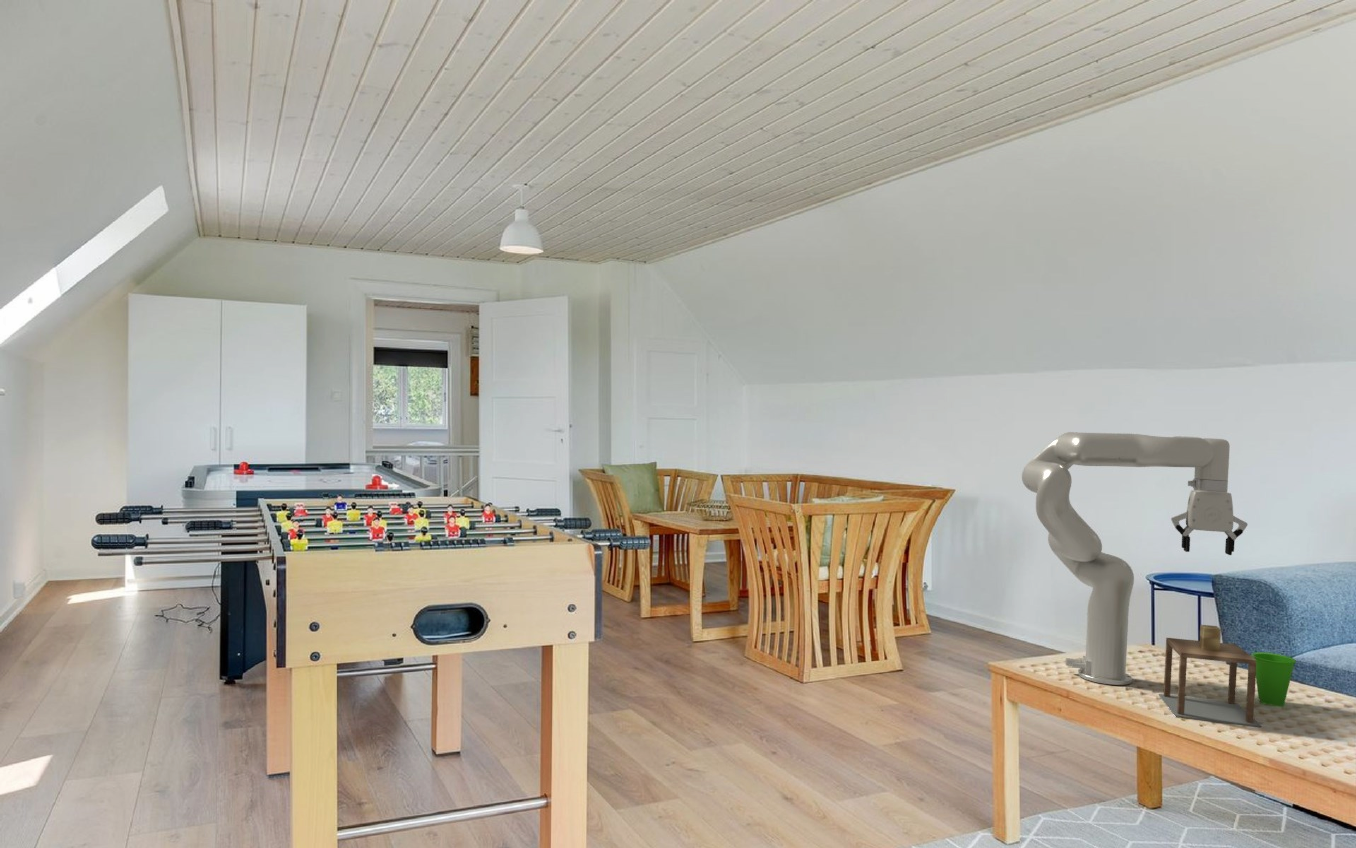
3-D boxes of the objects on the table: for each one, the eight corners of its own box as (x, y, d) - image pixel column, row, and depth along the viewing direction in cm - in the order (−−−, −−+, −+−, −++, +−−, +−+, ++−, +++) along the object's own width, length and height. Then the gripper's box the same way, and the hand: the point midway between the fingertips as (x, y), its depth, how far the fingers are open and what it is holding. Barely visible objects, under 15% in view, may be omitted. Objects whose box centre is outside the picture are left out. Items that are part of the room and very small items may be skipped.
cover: (1178, 714, 209) (1182, 630, 209) (1163, 695, 223) (1167, 617, 223) (1253, 723, 205) (1257, 637, 204) (1233, 703, 219) (1237, 623, 219)
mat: (1175, 717, 208) (1175, 715, 208) (1158, 695, 224) (1158, 693, 224) (1260, 727, 203) (1261, 725, 203) (1237, 704, 220) (1237, 702, 220)
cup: (1301, 710, 217) (1303, 664, 216) (1258, 706, 218) (1260, 660, 218) (1284, 699, 225) (1286, 654, 225) (1243, 695, 227) (1245, 650, 227)
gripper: (1176, 485, 236) (1173, 552, 237) (1253, 489, 231) (1249, 557, 232) (1169, 483, 243) (1166, 548, 244) (1244, 487, 239) (1240, 553, 239)
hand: (1207, 552), depth 238 cm, fingers open, 9 cm apart
